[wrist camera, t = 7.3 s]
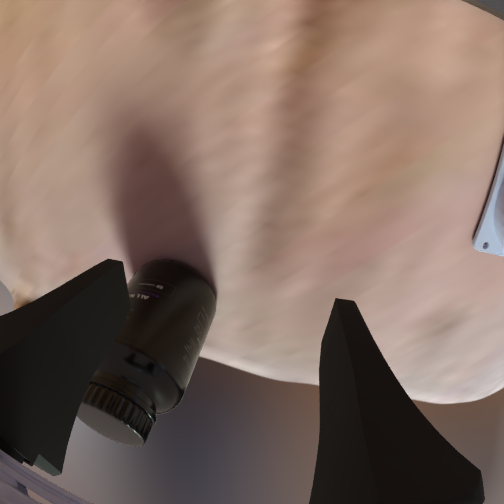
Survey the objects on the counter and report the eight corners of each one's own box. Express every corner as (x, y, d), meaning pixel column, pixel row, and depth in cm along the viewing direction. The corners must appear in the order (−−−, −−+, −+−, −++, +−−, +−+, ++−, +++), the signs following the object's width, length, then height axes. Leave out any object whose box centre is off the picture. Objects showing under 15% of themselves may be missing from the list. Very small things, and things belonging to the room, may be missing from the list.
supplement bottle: (156, 238, 22) (59, 371, 12) (235, 293, 23) (185, 445, 13) (124, 293, 26) (49, 407, 16) (191, 337, 27) (141, 461, 17)
